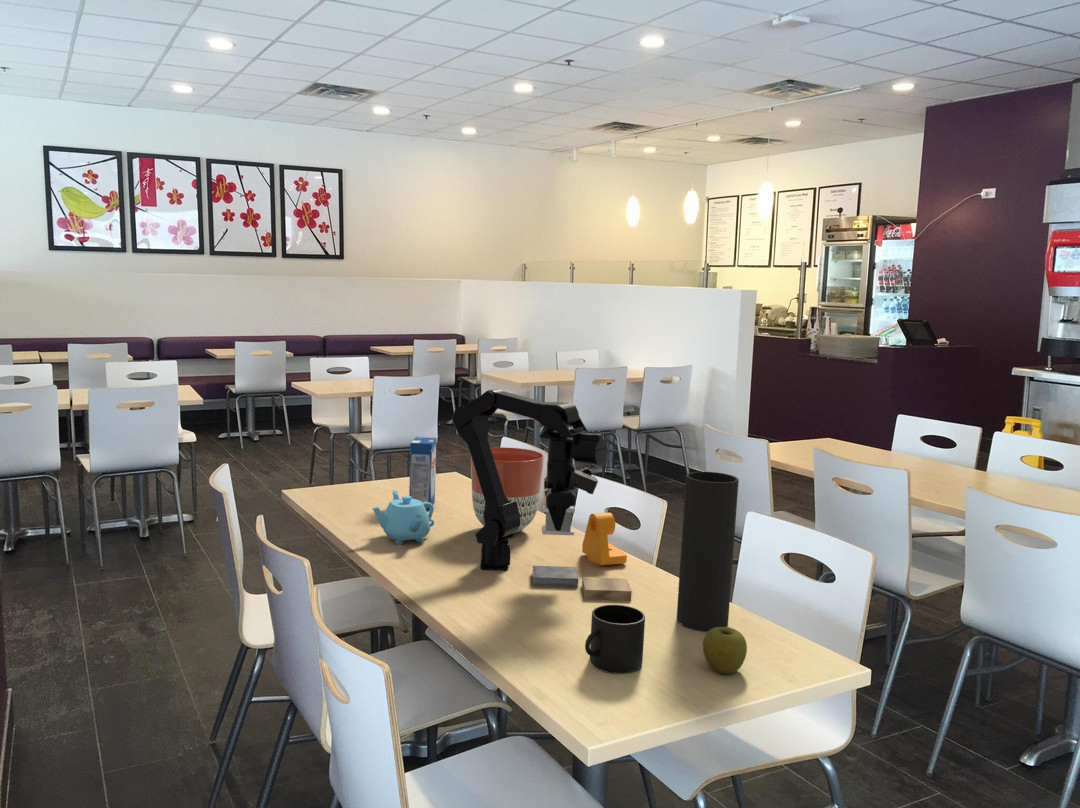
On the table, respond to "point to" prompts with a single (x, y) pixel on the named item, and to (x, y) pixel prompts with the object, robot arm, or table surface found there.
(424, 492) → the milk carton
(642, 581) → the table surface
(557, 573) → the stand
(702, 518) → the vase
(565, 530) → the block
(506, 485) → the planter
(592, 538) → the bracket
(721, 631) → the apple
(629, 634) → the mug
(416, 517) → the teapot
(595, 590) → the stand
